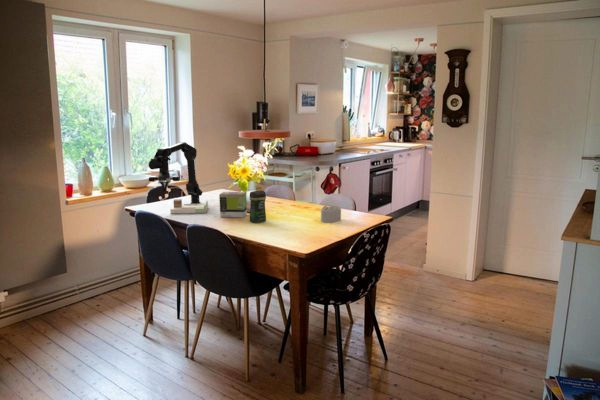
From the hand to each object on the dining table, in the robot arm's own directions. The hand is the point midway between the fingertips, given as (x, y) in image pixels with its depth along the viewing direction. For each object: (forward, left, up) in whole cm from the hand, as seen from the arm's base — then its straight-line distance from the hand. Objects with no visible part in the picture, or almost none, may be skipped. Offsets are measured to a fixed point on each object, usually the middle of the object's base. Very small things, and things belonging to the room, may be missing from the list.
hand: (165, 191), depth 304 cm
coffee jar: (+32, +59, -13) cm, 69 cm away
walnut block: (0, +8, -10) cm, 12 cm away
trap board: (0, +15, -13) cm, 20 cm away
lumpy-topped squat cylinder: (+34, +102, -13) cm, 109 cm away
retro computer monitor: (+16, +44, -13) cm, 49 cm away
